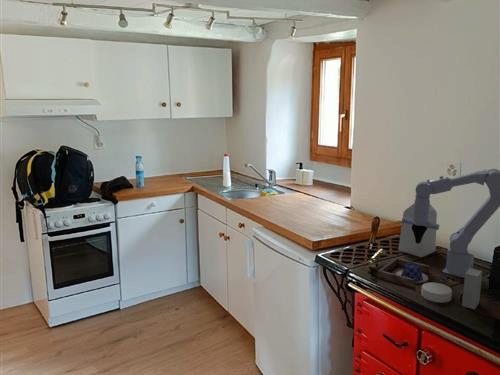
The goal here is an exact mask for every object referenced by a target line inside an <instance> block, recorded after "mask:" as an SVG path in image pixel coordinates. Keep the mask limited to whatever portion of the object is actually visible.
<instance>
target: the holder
mask: <svg viewBox="0 0 500 375" xmlns="http://www.w3.org/2000/svg"><path fill="white" fill-rule="evenodd" d="M407 263H408V264H409V263H414V264H417V265H419V266H420V267H421V272H422V273H426V274H429V273H430V269H431V266H430V265H427V264H424V263H419V262H414V261H410V260H407V259H403V258H398V257H395V258H394V259H392V260H390V261H389V262H388V263H387V264H384V266H383V267H381V268H380V269H379V270H377V278H379V279H382V280H385V281H390V282H393V283H396V284H399V285H400V284H401V285H404V286H408V287H410V288H414V287H415V283H414V282H415V281H414V279H411V278H407V277H404V276H400V275H396V273H391V271H392V269H394V268H396V266H399V267H403V268H404V266H405V264H407Z"/></svg>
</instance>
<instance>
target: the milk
mask: <svg viewBox="0 0 500 375" xmlns="http://www.w3.org/2000/svg"><path fill="white" fill-rule="evenodd" d="M414 204H415V202H414V203H412V204H411V205H410V206H409V207H407V208H406V209H405V210H404V211H403V214H402V218H410V219H413V214H414ZM436 210H437V209H435V208H434V206H433V205H431V203H430V206H429V215H428V222H432V223H435V224H437V219H438V218H437V217H438V214H437V213H438V212H437V211H436ZM412 226H413V225H412V224H407V223H402V222H401V228H400V235H399V242H398V249H397V250H398V251H399V252H403V253H407V254H409V255H413V256H417V257H420V258H423V257H425V256H427V255H430V254H433V253H434V252H436V247H437V246H436V245H437V244H436V243H437V242H436V240H437V230H435V229H431V228H427V230H426V231H425V233H424V235H423V237H422V239H421V243H419V244H418V243H416V241H415V236H414V233H413V230H412V228H411V227H412Z"/></svg>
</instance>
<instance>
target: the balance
mask: <svg viewBox="0 0 500 375" xmlns="http://www.w3.org/2000/svg"><path fill="white" fill-rule="evenodd" d="M380 255H387V251H386V250H384V249H383V248H380V249H379V250H376V252H375V254H374V255H373V256H371V259H368V260H367V261H366V263H367V264H369V265H368V268H370V269H373V270H376V271H378V270H379V269H381V268H382V267H384V266H385V264H384V263H382V262H379V256H380Z"/></svg>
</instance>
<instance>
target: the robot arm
mask: <svg viewBox="0 0 500 375" xmlns="http://www.w3.org/2000/svg"><path fill="white" fill-rule="evenodd" d="M468 184H469V185H470V184H478V185H481V186H485V185H486V186H487V188H488V192H489V196H488V198H486V200H485V201H484V202H483V204H482V205H481V206H480V207H479V208H478V209H477V211H476V212H475V213H474V214H473V215H472V216H471V218H470V219H469V220H468V221H467V222H466V223H465V225H464V226H462V227H461V228H459V229H458V231H456V232H453V233H452V234H451V235H450V237H449V247H448V248H447V254H446V255H447V256H446V265H445V268H444V269H443V270H442V273H443V274H448V275H451V276H455V277H460V278H464V279H465V273H466V272H467V271H468V269H469V268H472V269H474V261H475V260H474V259H475V258H474V256H475V255H474V254H472V253H470V252H469V251H468V246H469V245H470V243H471V242H472V239H473V238H474V236H475V235H476V234H477V233H478V232H479V230H481V228H483V226H484V225H485V224H486V223H487V221H488V220H489V219H490V218H491V217H492V216H493V215H494V214H495V212H496V211H498V209H499V208H500V170H499V169H496V168H491V169H488V170H487V169H484V170H479V171H475V172H471V173H468V174H467V173H466V174H465V175H464V174H463V175H460V176H457V177H453V178H449V177H447V176H444V175H440V176H439V178H436V179H432V180H430V179H427V180H425V181H424V180H423V181H420V182H418V183H417V185H416V187H415V199H414V203H415V204H414V203H413V204H414V214H413V219H410V218H403V217H402V218H401V224H402V223H407V224H412V225H413V226H412V227H411V228H412V230H413V233H414V236H415V241H416V243H418V244H419V243H421V239H422V237H423V235H424V233H425V231H426V230H427V228H431V229H435V230H436V231H438V230H440V224H437V223H436V224H435V223H432V222H428V215H429V206H430V204H431V201H430V196H431V195H437V194H441V193H442V194H443V193H446V192H450V191H452V189H453V188H454V187H459V186H464V185H468Z"/></svg>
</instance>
